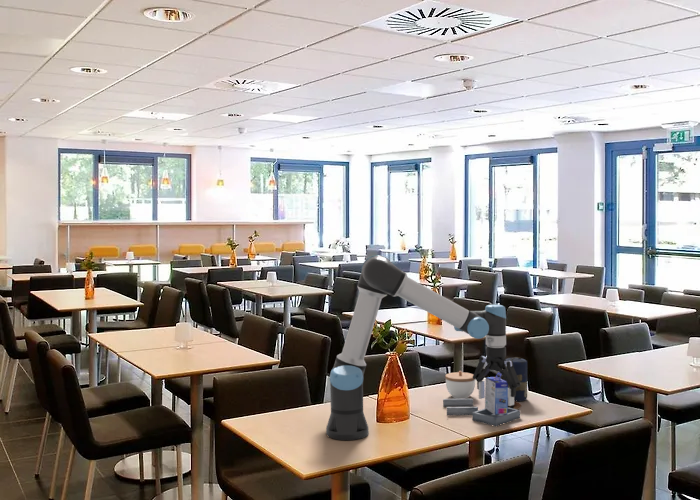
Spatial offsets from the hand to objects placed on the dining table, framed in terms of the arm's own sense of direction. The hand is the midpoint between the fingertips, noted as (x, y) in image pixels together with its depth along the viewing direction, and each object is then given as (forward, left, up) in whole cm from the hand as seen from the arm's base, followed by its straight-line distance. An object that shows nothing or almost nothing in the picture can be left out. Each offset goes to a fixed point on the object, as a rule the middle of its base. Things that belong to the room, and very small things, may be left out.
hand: (496, 401), depth 263 cm
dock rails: (-12, +12, -7) cm, 18 cm away
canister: (+13, +27, -7) cm, 31 cm away
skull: (+7, +18, -7) cm, 21 cm away
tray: (0, 0, -7) cm, 7 cm away
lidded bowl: (-9, +33, -7) cm, 35 cm away
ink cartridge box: (0, 0, -4) cm, 4 cm away
